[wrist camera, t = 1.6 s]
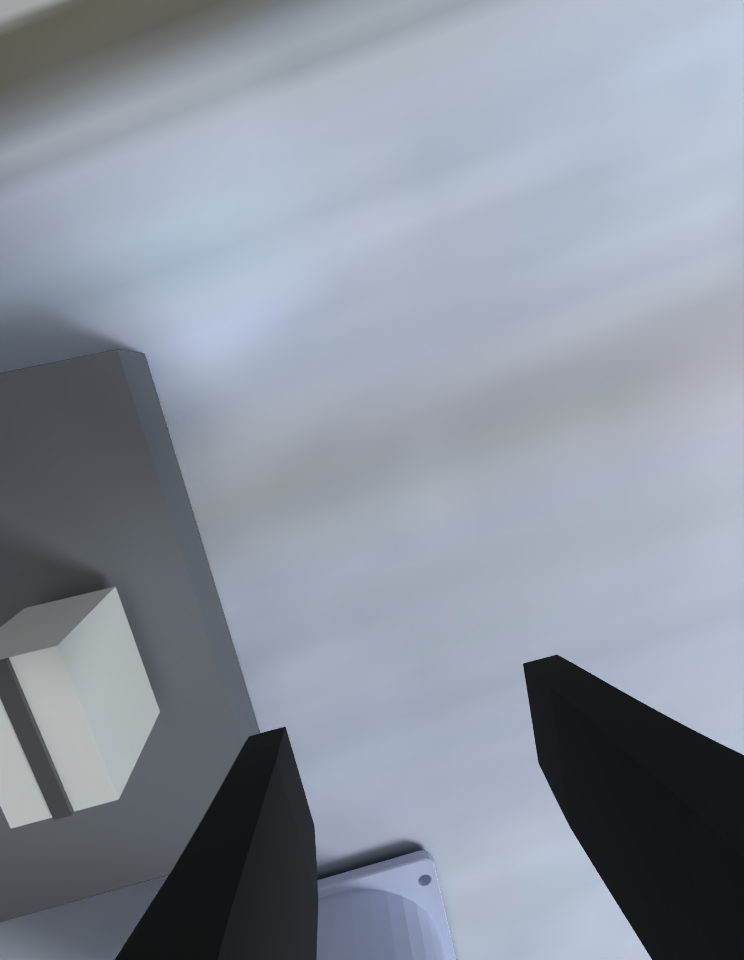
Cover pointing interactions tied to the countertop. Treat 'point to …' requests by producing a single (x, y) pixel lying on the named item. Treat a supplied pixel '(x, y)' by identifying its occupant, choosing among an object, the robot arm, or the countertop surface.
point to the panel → (146, 602)
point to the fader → (70, 707)
